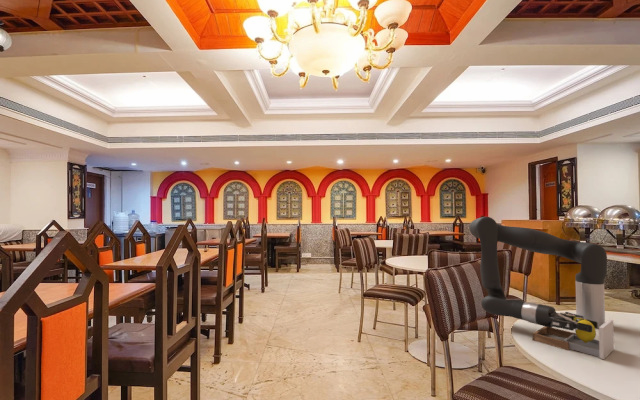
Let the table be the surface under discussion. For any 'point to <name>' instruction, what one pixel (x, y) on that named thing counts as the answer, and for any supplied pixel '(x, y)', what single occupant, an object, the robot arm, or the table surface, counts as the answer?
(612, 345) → the tray
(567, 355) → the table surface
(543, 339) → the frame
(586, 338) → the lemon
